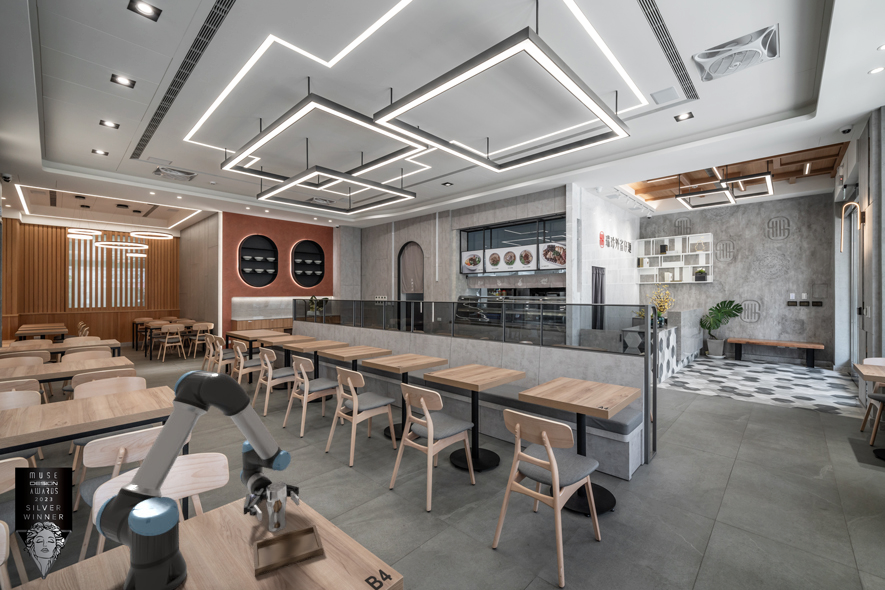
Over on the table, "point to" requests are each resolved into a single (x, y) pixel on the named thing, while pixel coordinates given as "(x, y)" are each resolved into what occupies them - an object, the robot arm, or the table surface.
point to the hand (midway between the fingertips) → (280, 509)
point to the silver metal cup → (276, 505)
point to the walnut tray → (286, 549)
